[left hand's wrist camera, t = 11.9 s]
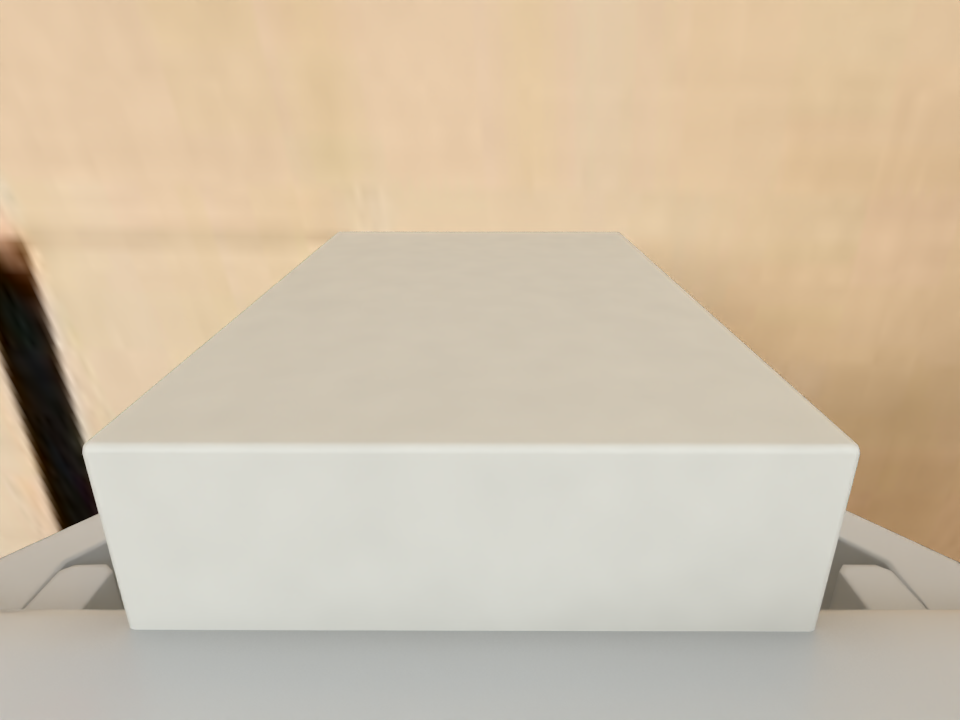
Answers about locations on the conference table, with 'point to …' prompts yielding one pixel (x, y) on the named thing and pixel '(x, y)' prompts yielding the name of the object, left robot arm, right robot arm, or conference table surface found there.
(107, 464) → the bar
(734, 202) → the conference table surface
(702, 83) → the conference table surface
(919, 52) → the conference table surface
